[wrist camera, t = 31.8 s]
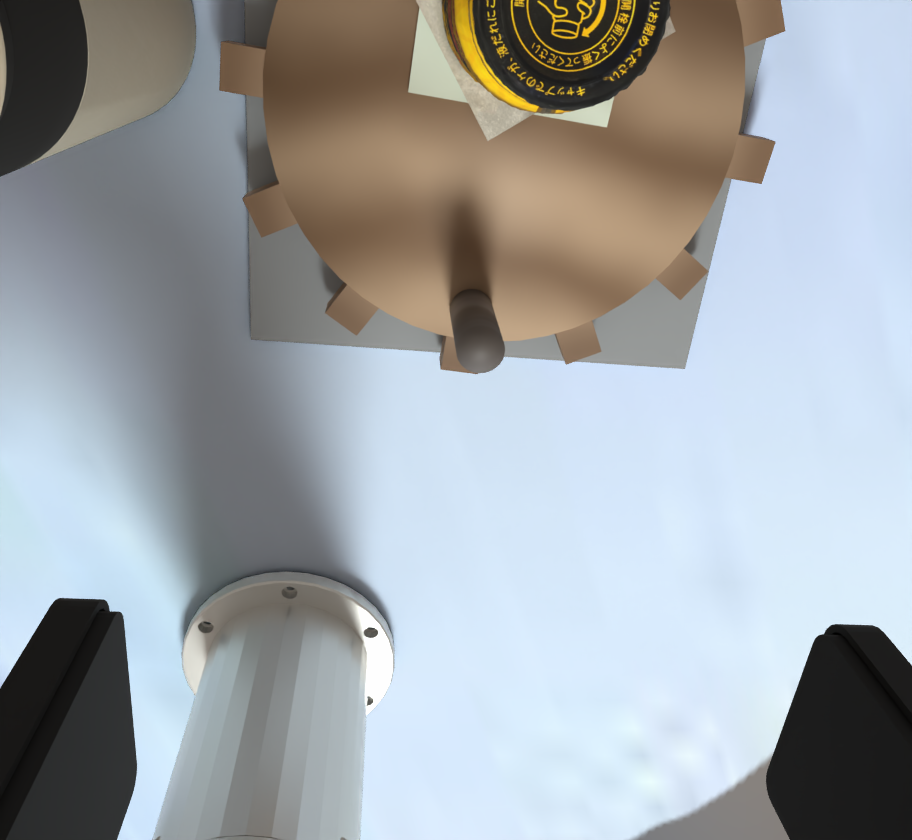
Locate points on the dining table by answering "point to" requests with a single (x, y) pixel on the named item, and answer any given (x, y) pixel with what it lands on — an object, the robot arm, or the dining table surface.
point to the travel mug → (85, 69)
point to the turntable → (493, 173)
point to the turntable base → (314, 283)
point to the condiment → (544, 52)
